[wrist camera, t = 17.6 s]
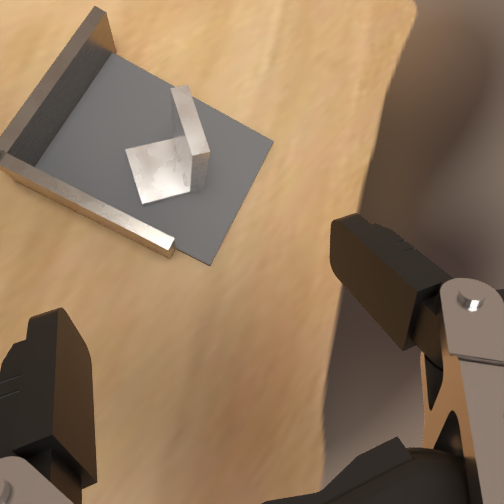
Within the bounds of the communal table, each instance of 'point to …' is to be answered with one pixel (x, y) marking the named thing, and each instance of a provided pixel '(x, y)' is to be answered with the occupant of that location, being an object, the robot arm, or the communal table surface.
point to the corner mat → (146, 132)
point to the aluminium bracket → (173, 155)
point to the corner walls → (52, 119)
